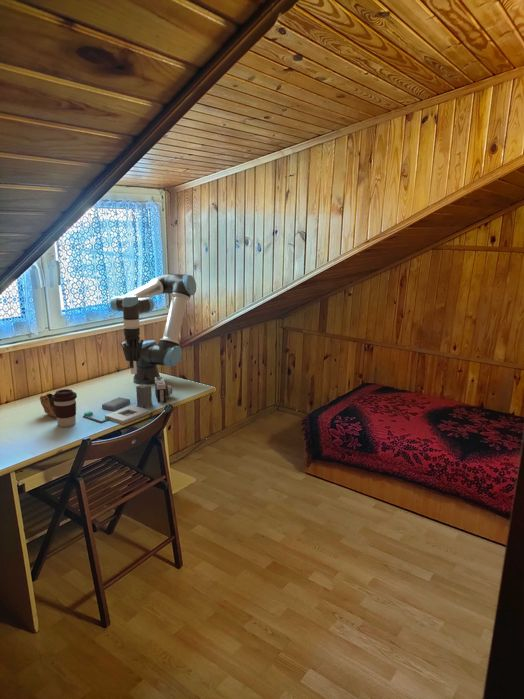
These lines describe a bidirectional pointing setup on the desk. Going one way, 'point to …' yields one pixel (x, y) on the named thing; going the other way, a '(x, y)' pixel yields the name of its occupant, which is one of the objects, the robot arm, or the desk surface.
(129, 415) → the outlet plate
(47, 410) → the decorative rock
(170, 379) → the desk surface
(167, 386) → the camera
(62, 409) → the coffee cup
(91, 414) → the cable
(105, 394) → the desk surface
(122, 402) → the flat grey block
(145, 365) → the robot arm
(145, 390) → the charger block
